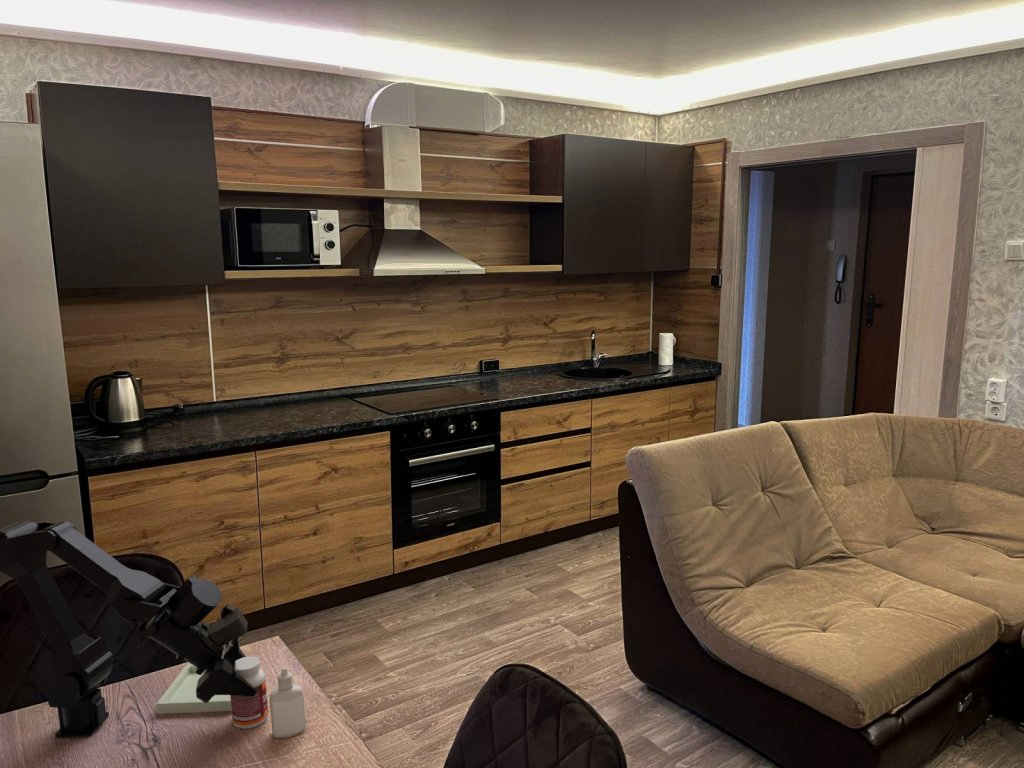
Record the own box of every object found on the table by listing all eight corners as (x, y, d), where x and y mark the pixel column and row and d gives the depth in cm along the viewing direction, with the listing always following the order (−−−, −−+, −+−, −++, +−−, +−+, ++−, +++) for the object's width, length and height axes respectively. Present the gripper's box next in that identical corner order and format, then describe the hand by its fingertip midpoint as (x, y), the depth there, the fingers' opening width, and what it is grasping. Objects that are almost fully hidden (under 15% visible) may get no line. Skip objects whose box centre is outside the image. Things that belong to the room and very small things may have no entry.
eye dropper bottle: (299, 739, 129) (295, 675, 127) (268, 738, 129) (263, 674, 127) (309, 724, 133) (304, 662, 131) (279, 723, 134) (274, 661, 132)
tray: (157, 713, 137) (156, 703, 137) (188, 673, 151) (187, 663, 151) (234, 710, 138) (233, 700, 137) (257, 670, 152) (256, 661, 151)
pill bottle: (272, 722, 134) (268, 665, 132) (237, 734, 131) (232, 676, 129) (263, 705, 139) (258, 650, 137) (228, 717, 136) (223, 661, 134)
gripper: (211, 625, 121) (286, 675, 126) (220, 580, 139) (286, 626, 144) (163, 678, 120) (241, 727, 125) (179, 626, 138) (246, 671, 143)
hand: (256, 684), depth 134 cm, fingers closed on pill bottle, 6 cm apart
